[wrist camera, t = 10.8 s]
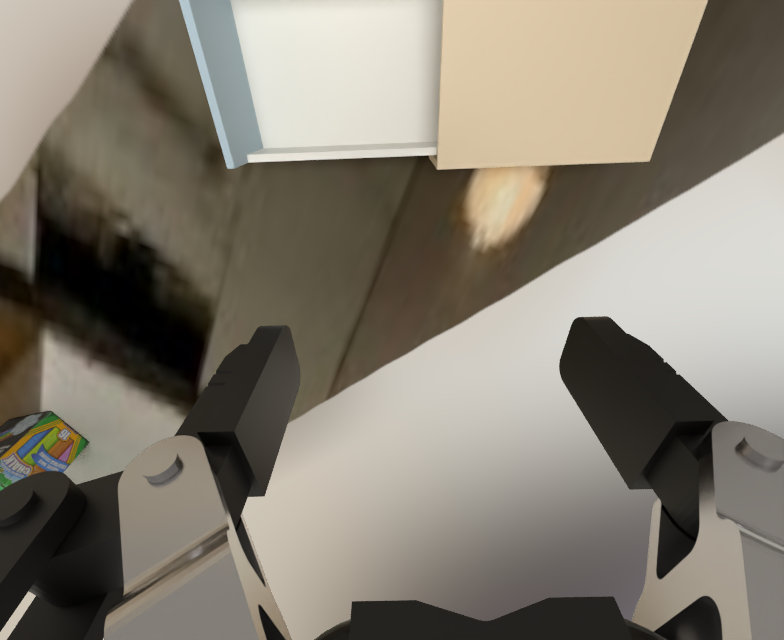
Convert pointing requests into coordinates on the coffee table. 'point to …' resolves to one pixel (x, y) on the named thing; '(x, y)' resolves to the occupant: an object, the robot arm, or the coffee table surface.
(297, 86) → the inner tray
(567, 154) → the sleeve
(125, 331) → the coffee table surface
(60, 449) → the chalk box
